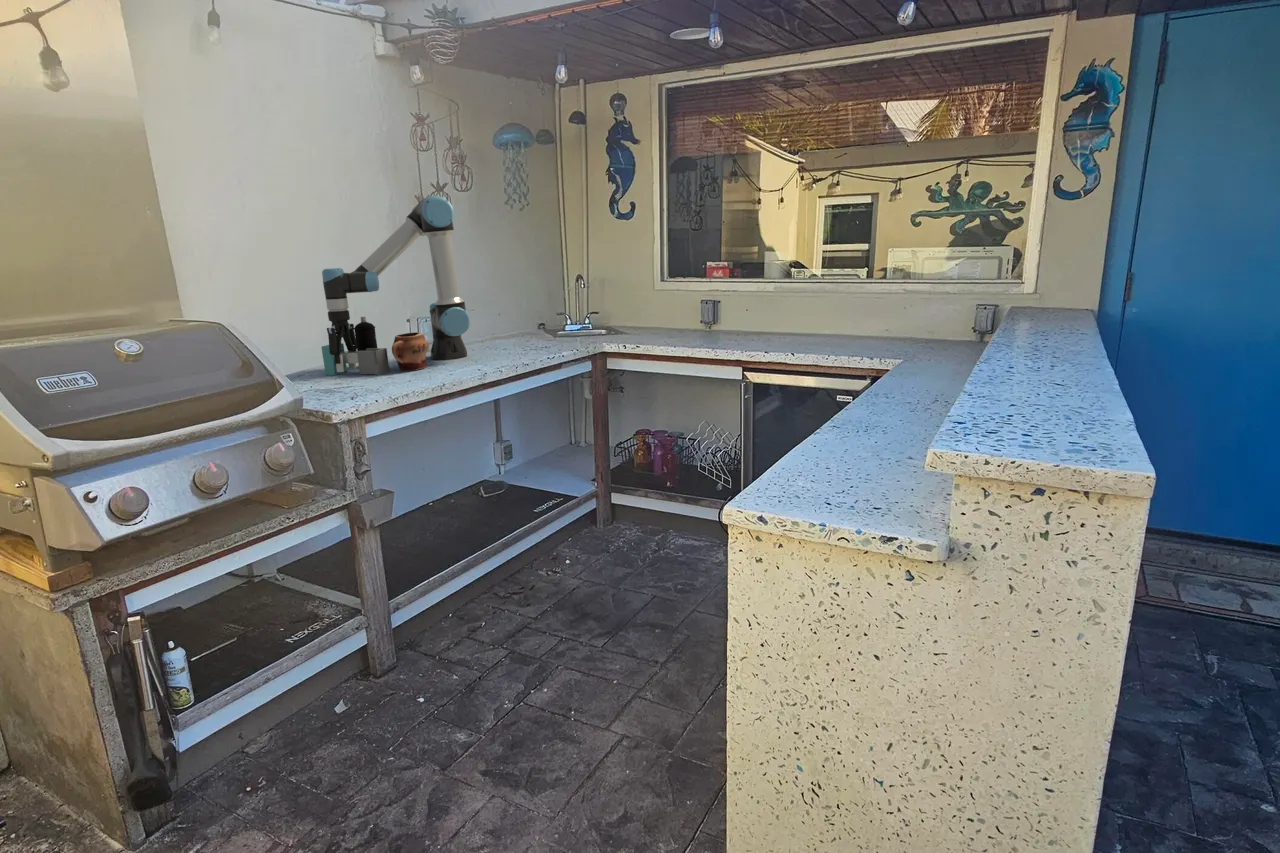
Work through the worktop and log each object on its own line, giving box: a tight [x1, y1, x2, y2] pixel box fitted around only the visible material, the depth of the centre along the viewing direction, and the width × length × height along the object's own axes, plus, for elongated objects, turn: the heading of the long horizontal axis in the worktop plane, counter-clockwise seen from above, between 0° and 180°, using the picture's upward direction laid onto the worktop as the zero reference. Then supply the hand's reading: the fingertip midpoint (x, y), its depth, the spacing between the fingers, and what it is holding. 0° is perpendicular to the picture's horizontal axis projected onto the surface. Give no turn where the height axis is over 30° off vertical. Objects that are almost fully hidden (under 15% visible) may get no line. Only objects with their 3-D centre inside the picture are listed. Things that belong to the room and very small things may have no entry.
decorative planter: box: [391, 332, 430, 372], centre depth 281 cm, size 20×12×14 cm, turn 167°
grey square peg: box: [334, 350, 358, 364], centre depth 279 cm, size 14×5×5 cm, turn 78°
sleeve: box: [357, 347, 390, 376], centre depth 277 cm, size 8×7×9 cm
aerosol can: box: [354, 316, 378, 351], centre depth 292 cm, size 8×8×20 cm
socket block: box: [321, 342, 348, 376], centre depth 280 cm, size 4×8×11 cm, turn 168°
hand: (346, 370), depth 280 cm, fingers open, 7 cm apart
